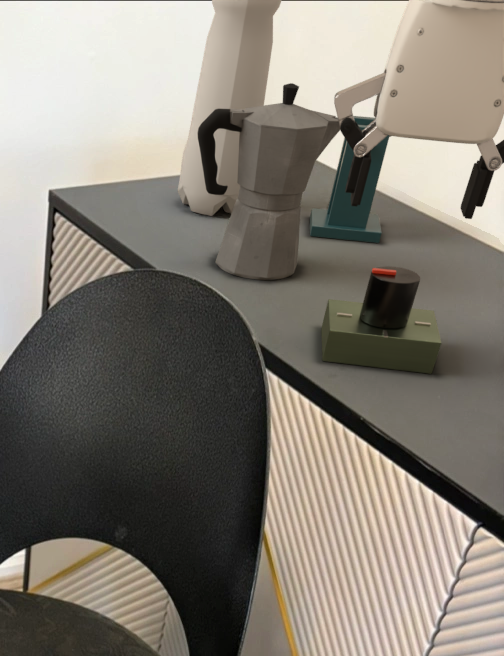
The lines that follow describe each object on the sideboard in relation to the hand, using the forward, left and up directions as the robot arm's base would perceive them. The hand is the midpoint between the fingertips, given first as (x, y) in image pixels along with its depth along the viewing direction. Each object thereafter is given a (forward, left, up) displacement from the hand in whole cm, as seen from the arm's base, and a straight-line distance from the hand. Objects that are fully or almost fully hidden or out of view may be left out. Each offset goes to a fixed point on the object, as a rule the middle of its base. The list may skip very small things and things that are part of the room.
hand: (409, 208), depth 99 cm
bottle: (+18, -39, -13) cm, 45 cm away
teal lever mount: (+2, -35, -13) cm, 38 cm away
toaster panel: (0, +1, -13) cm, 13 cm away
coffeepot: (+13, -19, -13) cm, 26 cm away
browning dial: (0, +1, -10) cm, 10 cm away
